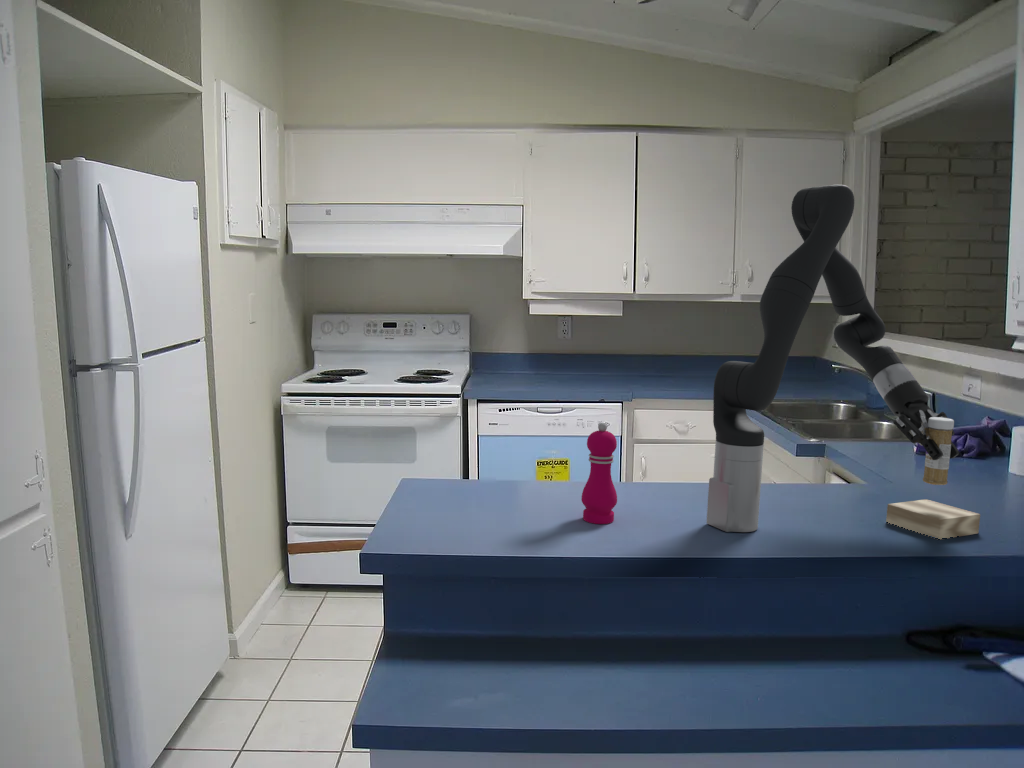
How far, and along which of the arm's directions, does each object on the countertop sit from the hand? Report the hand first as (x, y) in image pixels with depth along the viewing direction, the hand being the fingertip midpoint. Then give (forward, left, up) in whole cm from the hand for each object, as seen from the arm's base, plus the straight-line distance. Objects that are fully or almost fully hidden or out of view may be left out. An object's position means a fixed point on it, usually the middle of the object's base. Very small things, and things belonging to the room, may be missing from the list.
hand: (946, 456), depth 155 cm
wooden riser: (0, +2, -15) cm, 15 cm away
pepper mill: (-63, +30, -16) cm, 71 cm away
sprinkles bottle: (0, +2, -6) cm, 6 cm away
